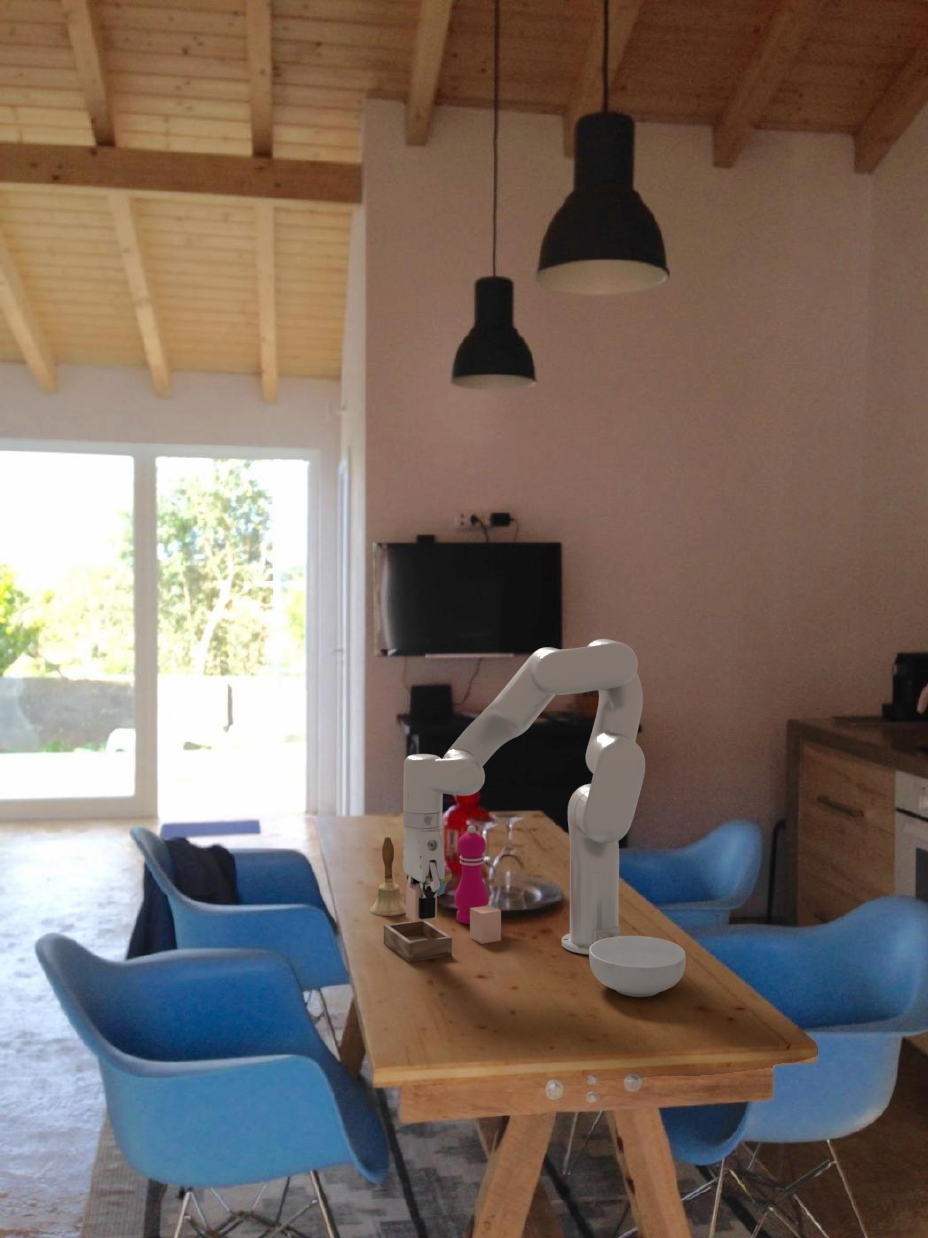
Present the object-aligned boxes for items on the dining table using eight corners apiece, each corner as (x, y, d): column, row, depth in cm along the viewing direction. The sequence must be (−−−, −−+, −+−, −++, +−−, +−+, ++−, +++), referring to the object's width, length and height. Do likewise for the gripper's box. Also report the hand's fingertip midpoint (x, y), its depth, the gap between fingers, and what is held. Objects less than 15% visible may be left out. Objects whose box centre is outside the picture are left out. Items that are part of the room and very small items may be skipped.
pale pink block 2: (500, 940, 238) (501, 910, 238) (481, 944, 236) (481, 913, 236) (489, 934, 242) (489, 905, 242) (470, 938, 240) (470, 908, 239)
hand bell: (379, 918, 253) (379, 843, 253) (363, 908, 261) (363, 835, 260) (414, 913, 257) (414, 839, 256) (398, 903, 264) (398, 832, 264)
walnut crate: (451, 955, 228) (451, 937, 228) (409, 962, 225) (409, 943, 224) (424, 937, 240) (424, 919, 240) (383, 942, 236) (383, 925, 236)
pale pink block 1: (436, 919, 228) (437, 888, 228) (415, 922, 226) (415, 890, 226) (427, 913, 232) (427, 882, 232) (405, 916, 230) (406, 885, 230)
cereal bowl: (570, 983, 213) (570, 943, 213) (644, 968, 222) (644, 930, 221) (628, 1013, 199) (628, 971, 198) (705, 996, 207) (706, 955, 206)
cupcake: (408, 897, 270) (408, 844, 269) (423, 887, 278) (423, 836, 277) (443, 901, 266) (443, 847, 266) (457, 891, 274) (458, 839, 274)
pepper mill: (485, 926, 247) (485, 830, 247) (451, 924, 249) (451, 828, 248) (491, 916, 255) (491, 822, 254) (458, 914, 256) (458, 821, 255)
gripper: (459, 827, 223) (457, 924, 223) (423, 810, 238) (421, 901, 239) (422, 830, 220) (421, 928, 220) (387, 813, 235) (386, 905, 235)
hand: (421, 913), depth 229 cm, fingers closed on pale pink block 1, 4 cm apart
